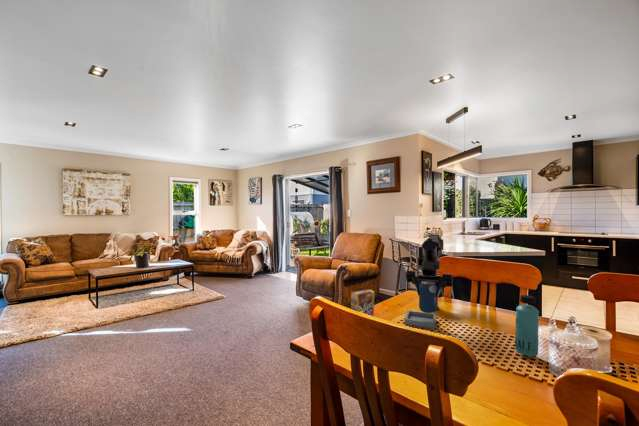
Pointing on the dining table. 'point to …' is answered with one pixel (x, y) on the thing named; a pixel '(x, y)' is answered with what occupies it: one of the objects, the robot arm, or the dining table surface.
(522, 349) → the beverage bottle
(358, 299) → the candy box
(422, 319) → the tray
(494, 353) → the dining table surface
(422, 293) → the soda can
